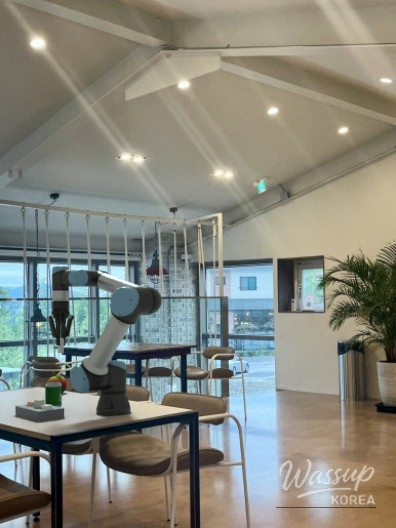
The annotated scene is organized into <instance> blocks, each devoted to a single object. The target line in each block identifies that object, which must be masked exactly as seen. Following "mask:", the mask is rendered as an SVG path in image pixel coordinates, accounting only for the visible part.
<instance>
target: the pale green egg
mask: <svg viewBox="0 0 396 528" xmlns="http://www.w3.org/2000/svg"><path fill="white" fill-rule="evenodd" d="M33 401H34V408H42V405H45V398H43V399H41V398H39V399H34V400H33Z"/></svg>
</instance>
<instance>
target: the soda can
mask: <svg viewBox="0 0 396 528" xmlns="http://www.w3.org/2000/svg"><path fill="white" fill-rule="evenodd" d="M47 382H48V381H47ZM44 390H45V392H44V400H45V404H47V405H52V406H56V407H61V408H62V405H63V403H62V402H63V399H62V397H63V393H62V384H61V383H60V382H48V383H46V384H45V385H44Z"/></svg>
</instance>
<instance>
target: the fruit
mask: <svg viewBox="0 0 396 528" xmlns="http://www.w3.org/2000/svg"><path fill="white" fill-rule="evenodd" d="M66 380H67V379H65V377H64V376H63V375H60V374H57V375H54V376H51V377H49V379H48V380H47V383H48V382H60V383H61V384H62V394H63V393H65V391H66V390H67V386H68V385H67V381H66ZM47 383H46V384H47Z"/></svg>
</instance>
